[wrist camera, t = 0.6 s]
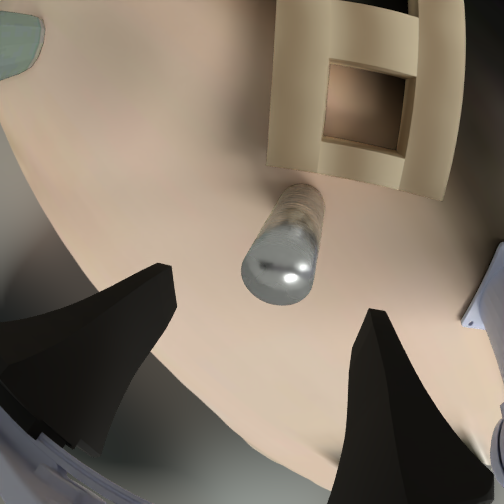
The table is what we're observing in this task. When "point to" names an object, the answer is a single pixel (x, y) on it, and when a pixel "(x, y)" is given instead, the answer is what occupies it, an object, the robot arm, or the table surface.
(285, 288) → the pin
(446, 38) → the socket block
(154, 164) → the table surface
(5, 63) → the disposable coffee cup
